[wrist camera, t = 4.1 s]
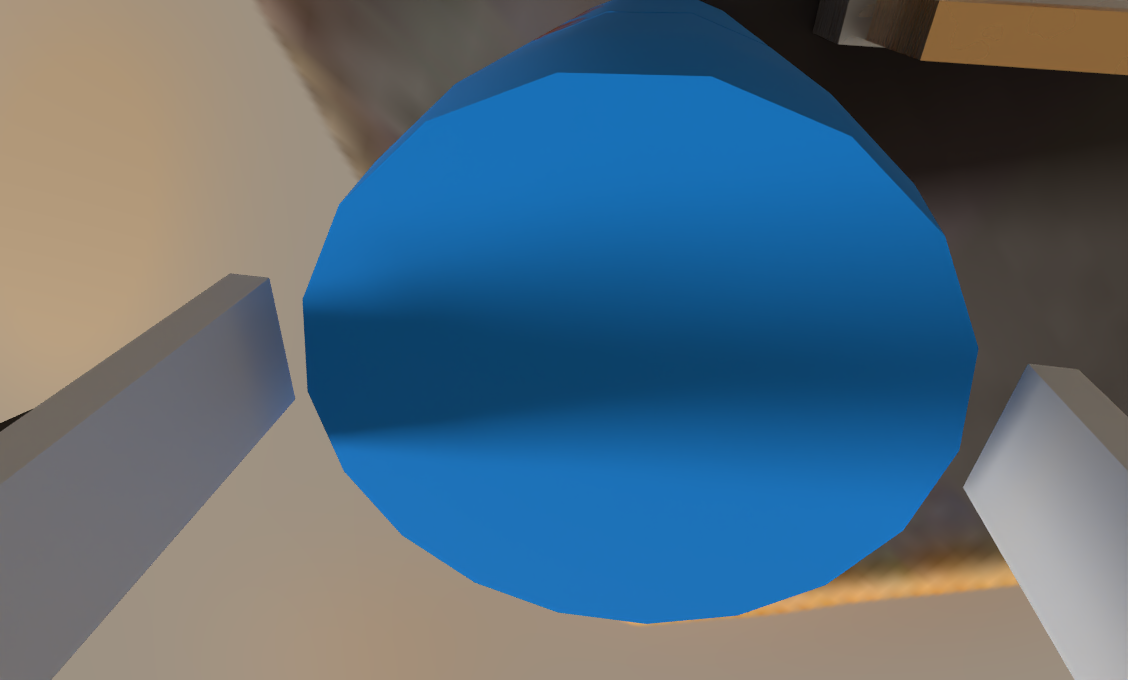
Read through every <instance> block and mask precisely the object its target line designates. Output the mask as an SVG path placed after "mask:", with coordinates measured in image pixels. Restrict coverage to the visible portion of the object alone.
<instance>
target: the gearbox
mask: <svg viewBox="0 0 1128 680" xmlns="http://www.w3.org/2000/svg"><path fill="white" fill-rule="evenodd" d="M812 33H814V34H816V35H819V36H821V37H823V38H825V39H827V40H830V41H832V42H834V43H836V44H841V45H855V46H870V47H884V48H888V49H891V50H893V51H896V52H899V53H901V54H904V55H907V56H909V57H912V58H915V59H918V60H921V61H935V62H949V63H964V64H978V65H992V66H1006V67H1020V68H1034V69H1049V70H1063V71H1077V72H1091V73H1105V74H1119V75H1128V0H820V2H819V6H818V10H817V15H816V19H815V23H814V28H813V32H812Z"/></svg>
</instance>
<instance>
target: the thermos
mask: <svg viewBox="0 0 1128 680" xmlns="http://www.w3.org/2000/svg"><path fill="white" fill-rule="evenodd" d="M303 314H304V334H305V352H306V368H307V385H308V386H307V387H308V393H309V395H310V397H311V399H312V402H313V404H314V406H315V408H316V410H317V413H318V415H319V417H320V419H321V422H322V424H323V426H324V428H325V430H326V432H327V434H328V437H329V439H330V441H331V444H332V446H333V448H334V450H335V452H336V454H337V457H338V459H339V461H340V463H341V465H342V468H343V470H344V472H345V473H346V474H347V475H348V476H349V477H350V478H351V479H352V480H353V482H354V483H355V484H356V485H357V486H358V487H359V488H360V489H361V490H362V491H363V493H364V494H365V495H366V496H367V497H368V498H369V499H370V500H371V501H372V502H373V504H374V505H375V506H376V507H377V508H378V509H379V510H380V511H381V513H382V514H383V515H384V516H385V517H386V518H387V519H388V520H389V521H390V522H391V524H392V525H393V526H394V527H395V528H396V529H397V530H398V531H399V532H400V533H401V535H403V536H404V537H405V538H407V539H409V540H410V541H412V542H413V543H415V544H416V545H418V546H419V547H421V548H423V549H424V550H426V551H427V552H429V553H430V554H432V555H433V556H435V557H436V558H438V559H439V560H441V561H443V562H444V563H446V564H447V565H449V566H450V567H452V568H453V569H455V570H456V571H458V572H459V573H461V574H463V575H464V576H466V577H467V578H469V579H470V580H472V581H473V582H475V583H478V584H481V585H483V586H486V587H489V588H492V589H494V590H497V591H500V592H503V593H506V594H508V595H511V596H514V597H516V598H519V599H522V600H525V601H528V602H530V603H533V604H536V605H539V606H542V607H544V608H547V609H550V610H553V611H556V612H559V613H566V614H574V615H582V616H590V617H597V618H606V619H613V620H621V621H629V622H636V623H644V624H650V623H661V622H672V621H683V620H693V619H704V618H715V617H726V616H737V615H740V614H743V613H746V612H749V611H752V610H755V609H758V608H760V607H763V606H766V605H769V604H772V603H775V602H778V601H781V600H784V599H787V598H789V597H792V596H795V595H798V594H801V593H804V592H807V591H810V590H813V589H815V588H818V587H821V586H824V585H826V584H828V583H829V582H830V581H832V580H833V579H835V578H836V577H838V576H839V575H840V574H842V573H843V572H845V571H846V570H848V569H849V568H850V567H852V566H853V565H855V564H856V563H857V562H859V561H860V560H862V559H863V558H865V557H866V556H867V555H869V554H870V553H872V552H873V551H875V550H876V549H877V548H879V547H880V546H882V545H883V544H884V543H886V542H887V541H889V540H890V539H892V538H893V537H894V536H896V535H897V534H899V533H900V532H901V531H903V530H904V528H905V527H906V525H907V524H908V523H909V521H910V520H911V518H912V517H913V515H914V514H915V513H916V511H917V510H918V508H919V507H920V506H921V504H922V503H923V501H924V500H925V498H926V497H927V496H928V494H929V493H930V491H931V490H932V488H933V487H934V486H935V484H936V483H937V481H938V480H939V478H940V477H941V476H942V474H943V473H944V471H945V470H946V468H947V467H948V466H949V464H950V463H951V461H952V460H953V458H954V457H955V456H956V454H957V453H958V451H959V448H960V443H961V438H962V433H963V427H964V422H965V417H966V411H967V406H968V401H969V395H970V390H971V385H972V380H973V374H974V369H975V364H976V358H977V353H978V345H977V342H976V339H975V335H974V332H973V329H972V325H971V322H970V319H969V315H968V312H967V308H966V305H965V302H964V298H963V295H962V292H961V288H960V285H959V282H958V278H957V275H956V272H955V268H954V265H953V261H952V258H951V255H950V251H949V248H948V245H947V241H946V238H945V235H944V234H943V232H942V230H941V229H940V227H939V225H938V224H937V222H936V220H935V218H934V217H933V215H932V213H931V212H930V210H929V208H928V207H927V205H926V203H925V201H924V200H923V198H922V196H921V195H920V193H919V191H918V190H917V188H916V186H915V184H914V183H913V182H912V181H911V180H910V179H909V178H908V177H907V176H906V175H905V174H904V172H903V171H902V170H901V169H900V168H899V167H898V166H897V165H896V164H895V163H894V162H893V161H892V160H891V158H890V157H889V156H888V155H887V154H886V153H885V152H884V151H883V150H882V149H881V148H880V147H879V145H878V144H877V143H876V142H875V141H874V140H873V139H872V138H871V137H870V136H869V135H868V134H867V132H866V131H865V130H864V129H863V128H862V127H861V126H860V125H859V124H858V123H857V122H856V121H855V119H854V118H853V117H852V116H851V115H850V114H849V113H848V112H847V111H846V110H845V109H844V108H843V106H842V105H841V104H840V103H839V102H838V101H837V100H836V99H835V98H834V97H833V96H832V95H831V94H830V93H829V92H828V91H826V90H825V89H824V88H822V87H821V86H820V85H819V84H817V83H816V82H815V81H813V80H812V79H811V78H809V77H808V76H807V75H806V74H804V73H803V72H802V71H800V70H799V69H798V68H796V67H795V66H794V65H793V64H791V63H790V62H789V61H787V60H786V59H785V58H783V57H782V56H781V55H780V54H778V53H777V52H776V51H774V50H773V49H772V48H770V47H769V46H768V45H767V44H765V43H764V42H763V41H761V40H760V39H759V38H758V37H756V36H755V35H754V34H752V33H751V32H750V31H748V30H747V29H746V28H745V27H743V26H742V25H741V24H739V23H738V22H737V21H735V20H734V19H733V18H732V17H730V16H729V15H728V14H726V13H725V12H724V11H722V10H720V9H718V8H715V7H713V6H711V5H708V4H706V3H704V2H702V1H699V0H611V1H609V2H606V3H604V4H601V5H599V6H596V7H594V8H591V9H589V10H587V11H585V12H584V13H582V14H580V15H578V16H576V17H575V18H573V19H571V20H569V21H567V22H566V23H564V24H562V25H560V26H558V27H557V28H555V29H553V30H551V31H549V32H548V33H546V34H544V35H542V36H540V37H539V38H537V39H535V40H533V41H532V42H530V43H528V44H526V45H524V46H522V47H521V48H519V49H517V50H515V51H514V52H512V53H510V54H508V55H506V56H505V57H503V58H501V59H499V60H497V61H496V62H494V63H492V64H490V65H488V66H487V67H485V68H483V69H481V70H479V71H478V72H476V73H474V74H472V75H470V76H469V77H467V78H465V79H463V80H461V81H460V82H458V83H456V84H455V85H454V86H453V87H452V88H451V89H450V90H449V91H448V92H447V93H445V94H444V95H443V96H442V97H441V98H440V99H439V100H438V101H437V102H436V103H435V104H434V105H433V106H432V107H431V108H430V109H429V110H428V111H427V112H426V113H425V114H424V115H423V116H422V117H421V118H420V119H419V120H418V121H417V122H416V123H415V124H414V125H413V126H412V127H410V128H409V129H408V130H407V131H406V132H405V133H404V134H403V135H402V136H401V137H400V138H399V139H398V140H397V141H396V142H395V143H394V144H393V145H392V146H391V147H390V148H389V149H388V150H387V151H386V152H385V153H384V154H383V155H382V156H381V157H380V158H379V159H378V160H377V161H376V162H375V163H374V164H373V165H372V166H371V168H370V169H369V170H368V171H367V172H366V173H365V175H364V176H363V177H362V178H361V179H360V181H359V182H358V183H357V184H356V185H355V187H354V188H353V189H352V190H351V191H350V192H349V194H348V195H347V196H346V197H345V198H344V199H343V201H342V202H341V203H340V204H339V207H338V209H337V212H336V214H335V217H334V219H333V222H332V225H331V227H330V230H329V232H328V235H327V238H326V240H325V243H324V245H323V248H322V251H321V253H320V256H319V258H318V261H317V264H316V266H315V269H314V271H313V274H312V276H311V279H310V282H309V284H308V287H307V290H306V292H305V295H304V297H303Z"/></svg>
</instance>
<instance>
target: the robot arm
mask: <svg viewBox="0 0 1128 680" xmlns="http://www.w3.org/2000/svg"><path fill="white" fill-rule="evenodd" d="M294 400H295V396H294V391H293V387H292V382H291V377H290V373H289V368H288V363H287V359H286V354H285V349H284V345H283V340H282V335H281V331H280V326H279V321H278V317H277V313H276V308H275V303H274V298H273V293H272V289H271V284H270V279H269V278H265V277H257V276H248V275H239V274H229V275H227V276H226V277H224V278H223V279H221V280H220V281H218V282H217V283H215V284H214V285H213V286H211V287H210V288H208V289H207V290H205V291H204V292H202V293H201V294H199V295H198V296H197V297H195V298H194V299H192V300H191V301H189V302H188V303H186V304H185V305H184V306H182V307H181V308H179V309H178V310H176V311H175V312H173V313H172V314H171V315H169V316H168V317H166V318H165V319H163V320H162V321H160V322H159V323H157V324H156V325H155V326H153V327H152V328H150V329H149V330H147V331H146V332H144V333H143V334H142V335H140V336H139V337H137V338H136V339H134V340H133V341H131V342H130V343H128V344H127V345H125V346H124V347H123V348H121V349H120V350H118V351H117V352H115V353H114V354H112V355H111V356H110V357H108V358H107V359H105V360H104V361H102V362H101V363H99V364H98V365H97V366H95V367H94V368H92V369H91V370H89V371H88V372H86V373H85V374H84V375H82V376H81V377H79V378H78V379H76V380H75V381H73V382H72V383H70V384H69V385H67V386H66V387H65V388H63V389H62V390H60V391H59V392H58V393H56V394H55V395H53V396H51V397H50V398H49V399H47V400H46V401H44V402H43V403H41V404H40V405H38V406H37V407H36V408H34V409H31V410H29V411H27V412H25V413H22V414H20V415H18V416H16V417H13V418H11V419H9V420H7V421H4V422H2V423H0V680H51V679H52V678H53V677H54V676H55V675H56V674H57V672H58V671H59V670H60V669H61V668H62V667H63V666H64V665H65V663H66V662H67V661H68V660H69V659H70V658H71V656H72V655H73V654H74V653H75V652H76V651H77V649H78V648H79V647H80V646H81V645H82V644H83V643H84V641H85V640H86V639H87V638H88V637H89V636H90V634H91V633H92V632H93V631H94V630H95V629H96V628H97V627H98V625H99V624H100V623H101V622H102V621H103V620H104V618H105V617H106V616H107V615H108V614H109V612H111V610H112V609H113V608H114V607H115V606H116V605H117V604H118V602H119V601H120V600H121V599H122V598H123V597H124V595H125V594H126V593H127V592H128V591H129V590H130V589H131V587H132V586H133V585H134V584H135V583H136V582H137V581H138V579H139V578H140V577H141V576H142V575H143V574H144V573H145V571H146V570H147V569H148V568H149V567H150V566H151V564H152V563H153V562H154V561H155V560H156V559H157V558H158V556H159V555H160V554H161V553H162V552H163V551H164V550H165V548H166V547H167V546H168V545H169V544H170V543H171V541H172V540H173V539H174V538H175V537H176V536H177V535H178V533H179V532H180V531H181V530H182V529H183V528H184V526H185V525H186V524H187V523H188V522H189V521H190V520H191V518H192V517H193V516H194V515H195V514H196V513H197V511H198V510H199V509H200V508H201V507H202V506H203V505H204V503H205V502H206V501H207V500H208V499H209V498H210V497H211V495H212V494H213V493H214V492H215V491H216V490H217V489H218V487H219V486H220V485H221V484H222V483H223V482H224V480H225V479H226V478H227V477H228V476H229V475H230V474H231V472H232V471H233V470H234V469H235V468H236V467H237V466H238V464H239V463H240V462H241V461H242V460H243V459H244V457H245V456H246V455H247V454H248V453H249V452H250V451H251V449H252V448H253V447H254V446H255V445H256V444H257V443H258V441H259V440H260V439H261V438H262V437H263V435H264V434H265V433H266V432H267V431H268V430H269V428H270V427H271V426H272V425H273V424H274V423H275V422H276V421H277V419H278V418H279V417H280V416H281V415H282V413H284V411H285V410H286V409H287V408H288V407H289V405H290V404H291V403H292V402H293V401H294ZM963 488H964V490H965V491H966V493H967V495H968V497H969V498H970V500H971V502H972V503H973V505H974V507H975V509H976V510H977V512H978V514H979V516H980V517H981V519H982V521H983V523H984V524H985V526H986V528H987V529H988V531H989V533H990V535H991V536H992V538H993V540H994V542H995V543H996V545H997V547H998V548H999V550H1000V552H1001V554H1002V555H1003V557H1004V559H1005V561H1006V562H1007V564H1008V566H1009V567H1010V569H1011V571H1012V573H1013V574H1014V576H1015V578H1016V580H1017V581H1018V583H1019V585H1020V586H1021V588H1022V590H1023V591H1024V593H1025V595H1026V597H1027V598H1028V600H1029V602H1030V603H1031V605H1032V607H1033V609H1034V611H1035V612H1036V614H1037V616H1038V617H1039V619H1040V621H1041V623H1042V624H1043V626H1044V628H1045V630H1046V631H1047V633H1048V635H1049V637H1050V638H1051V640H1052V642H1053V643H1054V645H1055V647H1056V648H1057V650H1058V652H1059V654H1060V655H1061V657H1062V659H1063V661H1064V662H1065V664H1066V666H1067V668H1068V669H1069V671H1070V673H1071V675H1072V676H1073V678H1074V680H1128V417H1127V416H1126V415H1125V414H1124V413H1123V412H1122V411H1121V410H1120V409H1119V408H1118V407H1117V406H1116V405H1115V404H1114V403H1113V402H1112V401H1111V400H1110V399H1109V398H1107V397H1106V396H1105V395H1104V394H1103V393H1102V392H1101V391H1100V390H1099V389H1098V388H1097V387H1096V386H1095V385H1094V384H1093V383H1092V382H1091V381H1090V380H1089V379H1088V378H1087V377H1086V376H1085V375H1084V374H1082V373H1081V372H1080V371H1079V370H1078V369H1070V368H1061V367H1053V366H1044V365H1035V364H1028V365H1027V367H1026V369H1025V371H1024V373H1023V375H1022V376H1021V378H1020V380H1019V382H1018V384H1017V386H1016V388H1015V390H1014V392H1013V394H1012V395H1011V397H1010V399H1009V401H1008V403H1007V405H1006V407H1005V409H1004V411H1003V413H1002V414H1001V416H1000V418H999V420H998V422H997V424H996V426H995V428H994V430H993V432H992V433H991V435H990V437H989V439H988V441H987V443H986V445H985V447H984V449H983V451H982V452H981V454H980V456H979V458H978V460H977V462H976V464H975V466H974V468H973V470H972V471H971V473H970V475H969V477H968V479H967V481H966V483H965V485H964V487H963Z"/></svg>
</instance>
